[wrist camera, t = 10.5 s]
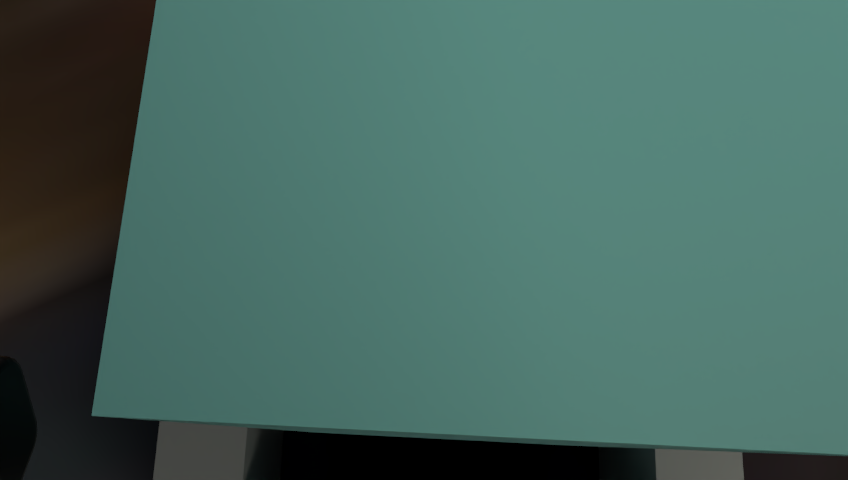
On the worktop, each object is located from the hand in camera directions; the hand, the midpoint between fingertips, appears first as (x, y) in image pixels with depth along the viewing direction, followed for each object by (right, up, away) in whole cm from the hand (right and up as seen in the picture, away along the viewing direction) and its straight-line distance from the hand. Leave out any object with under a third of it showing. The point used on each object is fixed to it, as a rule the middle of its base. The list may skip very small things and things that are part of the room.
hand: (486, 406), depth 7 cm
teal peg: (0, 0, +10) cm, 10 cm away
